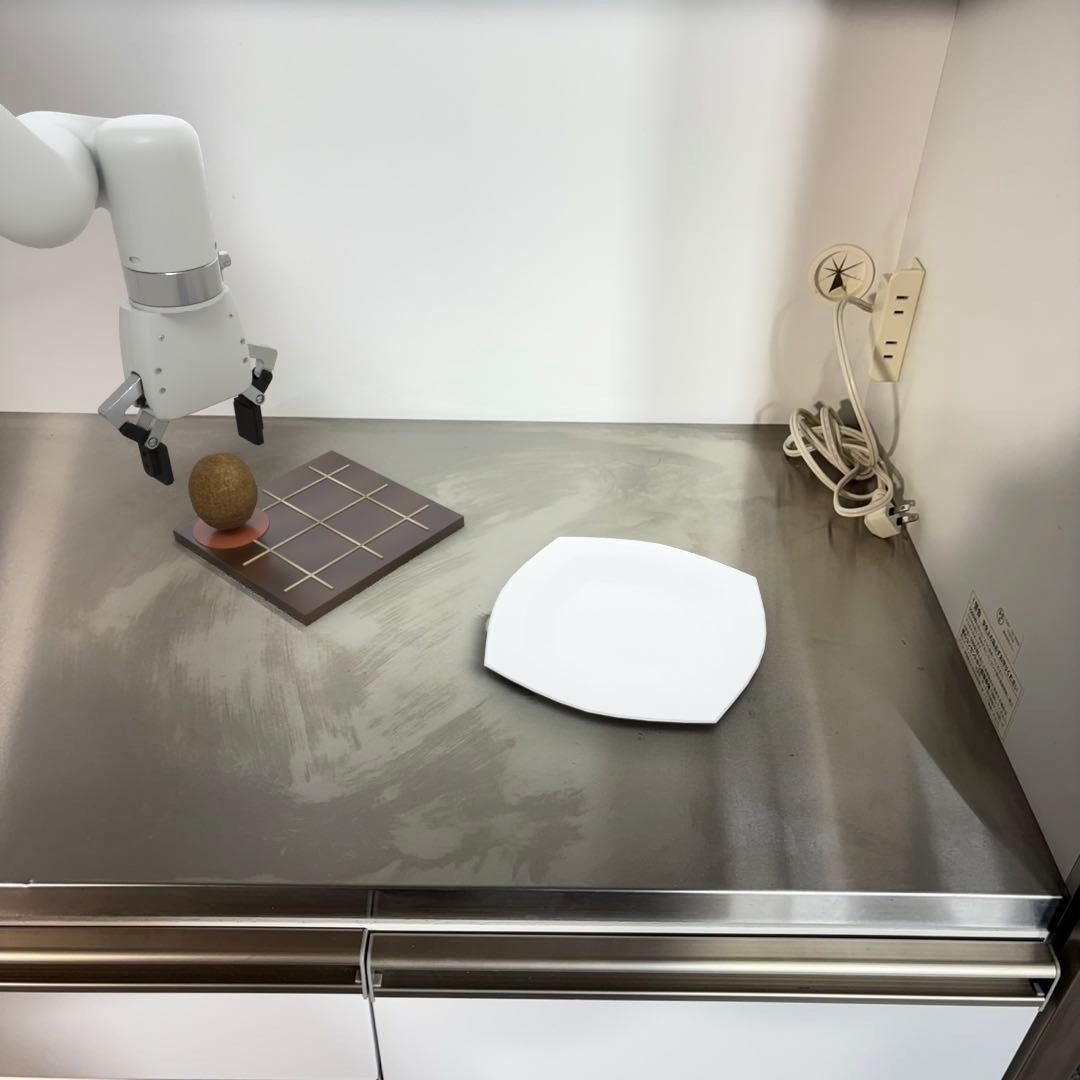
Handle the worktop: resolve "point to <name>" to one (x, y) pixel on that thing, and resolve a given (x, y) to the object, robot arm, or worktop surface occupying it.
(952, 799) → the worktop surface
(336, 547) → the board
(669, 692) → the plate
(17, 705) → the worktop surface
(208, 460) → the fruit
